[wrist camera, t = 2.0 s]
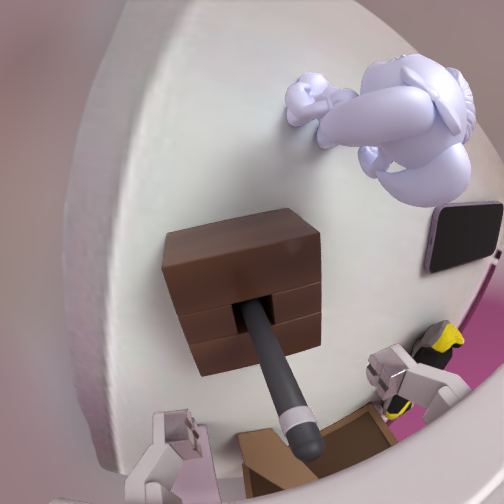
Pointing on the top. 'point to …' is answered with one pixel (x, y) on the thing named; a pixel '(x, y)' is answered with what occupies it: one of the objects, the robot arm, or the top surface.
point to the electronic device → (198, 476)
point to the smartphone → (462, 234)
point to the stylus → (283, 386)
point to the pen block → (245, 285)
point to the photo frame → (331, 461)
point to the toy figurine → (396, 125)
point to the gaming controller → (428, 358)
